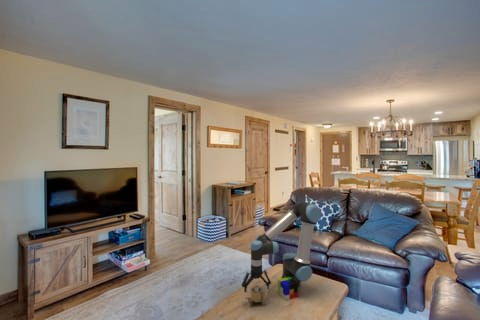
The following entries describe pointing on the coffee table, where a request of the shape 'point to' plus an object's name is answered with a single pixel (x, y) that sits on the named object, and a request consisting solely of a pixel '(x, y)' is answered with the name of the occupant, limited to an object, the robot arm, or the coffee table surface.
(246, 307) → the coffee table surface
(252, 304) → the peg on square base
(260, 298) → the ring
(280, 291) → the puzzle toy
